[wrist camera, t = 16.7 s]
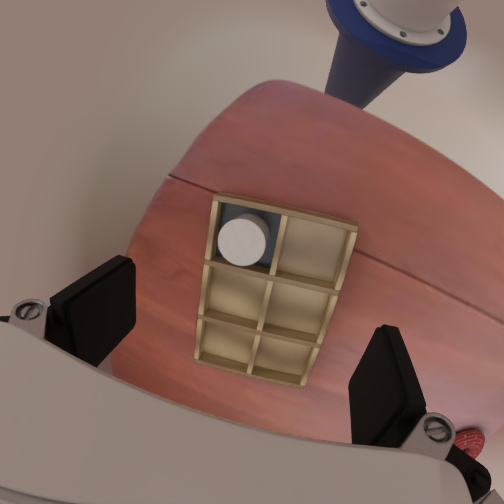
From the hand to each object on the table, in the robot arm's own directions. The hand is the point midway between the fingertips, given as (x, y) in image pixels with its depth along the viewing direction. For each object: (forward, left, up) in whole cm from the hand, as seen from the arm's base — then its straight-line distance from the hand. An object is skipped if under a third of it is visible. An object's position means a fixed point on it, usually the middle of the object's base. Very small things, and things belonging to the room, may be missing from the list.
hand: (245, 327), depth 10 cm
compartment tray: (+9, 0, -20) cm, 22 cm away
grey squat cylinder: (+2, -3, -19) cm, 19 cm away
